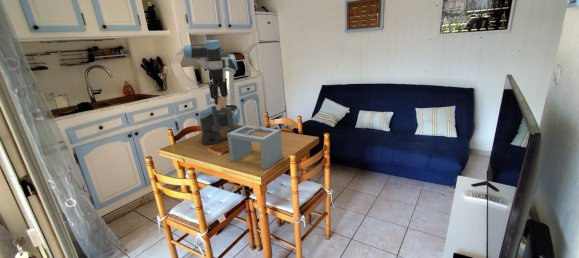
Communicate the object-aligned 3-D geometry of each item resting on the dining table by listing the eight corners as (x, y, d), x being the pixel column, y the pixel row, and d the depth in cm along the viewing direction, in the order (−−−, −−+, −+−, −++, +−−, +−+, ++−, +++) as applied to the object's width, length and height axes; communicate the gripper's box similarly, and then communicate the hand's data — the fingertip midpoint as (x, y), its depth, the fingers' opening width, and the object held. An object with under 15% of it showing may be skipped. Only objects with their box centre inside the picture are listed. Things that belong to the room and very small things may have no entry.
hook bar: (245, 136, 150) (245, 132, 149) (259, 129, 160) (259, 125, 160) (248, 137, 149) (248, 133, 148) (262, 130, 159) (262, 126, 159)
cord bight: (212, 130, 169) (207, 97, 162) (218, 128, 173) (213, 95, 166) (230, 134, 161) (226, 99, 155) (236, 131, 165) (232, 97, 159)
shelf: (230, 161, 159) (227, 133, 154) (248, 150, 173) (246, 125, 167) (266, 169, 147) (263, 139, 141) (282, 157, 160) (280, 129, 155)
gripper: (209, 70, 146) (215, 112, 154) (231, 66, 160) (235, 105, 168) (199, 70, 150) (206, 111, 157) (221, 66, 164) (226, 104, 171)
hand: (221, 108), depth 162 cm, fingers closed on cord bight, 4 cm apart
